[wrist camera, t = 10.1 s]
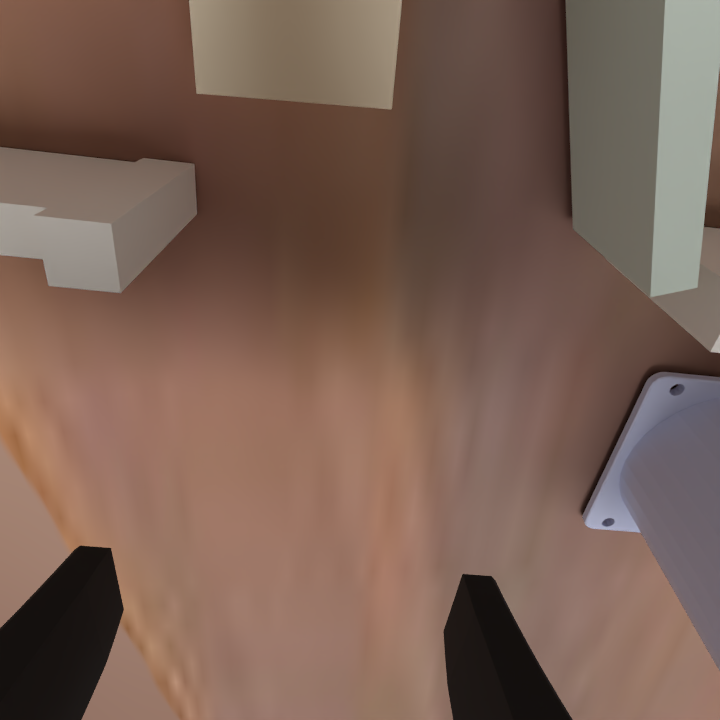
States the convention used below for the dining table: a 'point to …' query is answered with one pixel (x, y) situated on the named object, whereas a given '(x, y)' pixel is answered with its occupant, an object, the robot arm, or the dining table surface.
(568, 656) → the dining table surface
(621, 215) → the door
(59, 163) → the wall frame
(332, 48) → the birch block
